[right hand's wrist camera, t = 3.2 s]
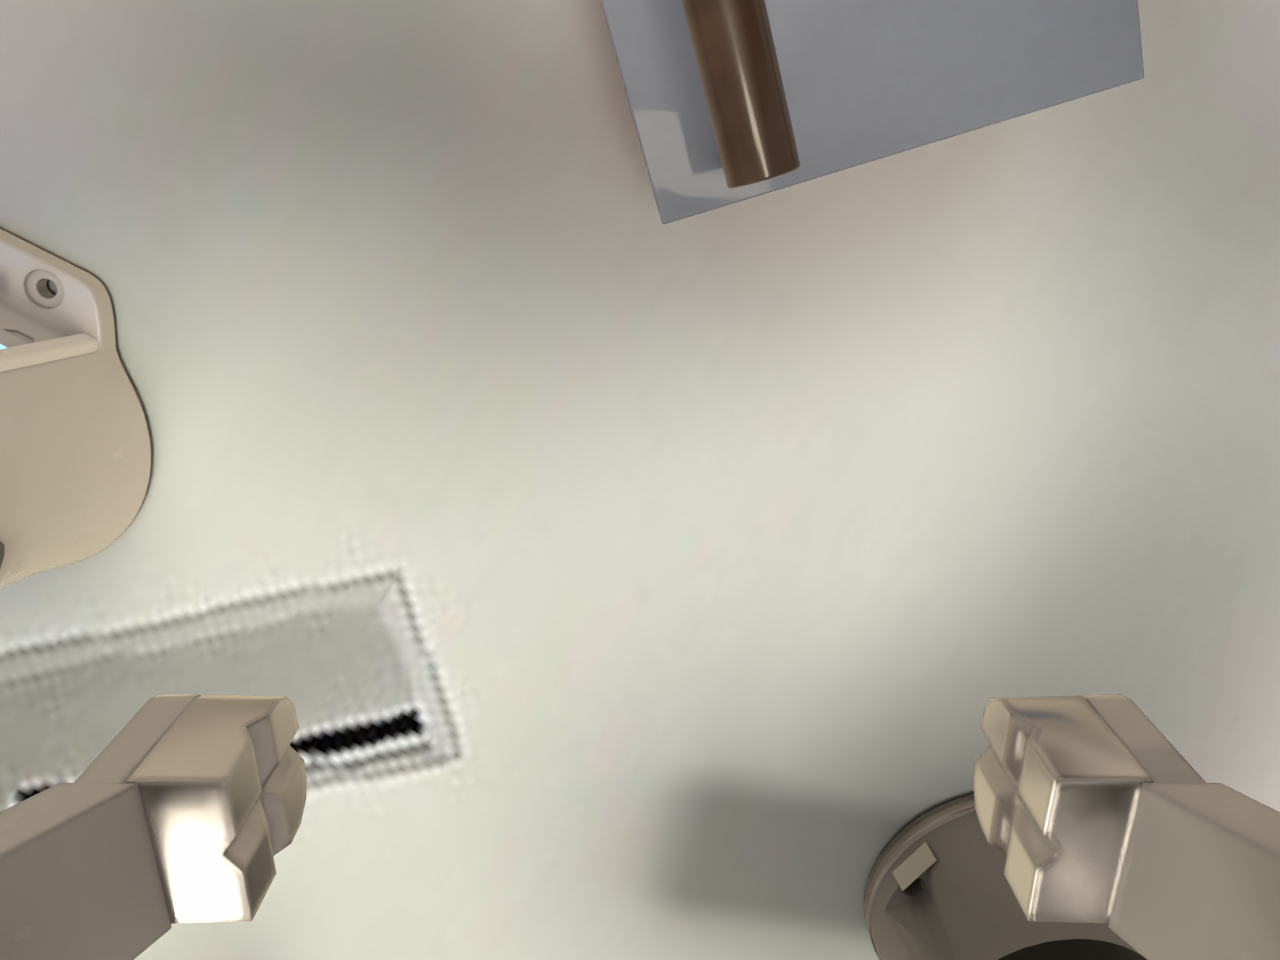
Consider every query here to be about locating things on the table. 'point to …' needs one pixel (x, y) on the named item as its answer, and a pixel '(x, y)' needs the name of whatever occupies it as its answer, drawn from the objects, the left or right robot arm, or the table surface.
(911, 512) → the table surface
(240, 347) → the table surface
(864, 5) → the lid
